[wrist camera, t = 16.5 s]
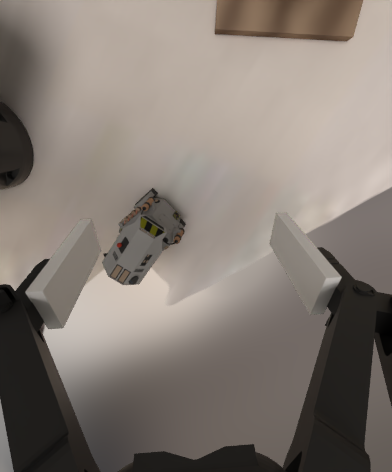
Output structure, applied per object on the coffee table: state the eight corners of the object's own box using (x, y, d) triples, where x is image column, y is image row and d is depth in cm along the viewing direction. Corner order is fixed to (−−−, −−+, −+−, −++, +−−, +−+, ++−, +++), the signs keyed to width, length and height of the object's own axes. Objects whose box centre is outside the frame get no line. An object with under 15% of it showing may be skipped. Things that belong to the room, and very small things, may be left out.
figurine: (116, 220, 43) (75, 261, 29) (159, 182, 39) (134, 207, 26) (150, 252, 45) (126, 303, 32) (192, 219, 42) (186, 260, 28)
